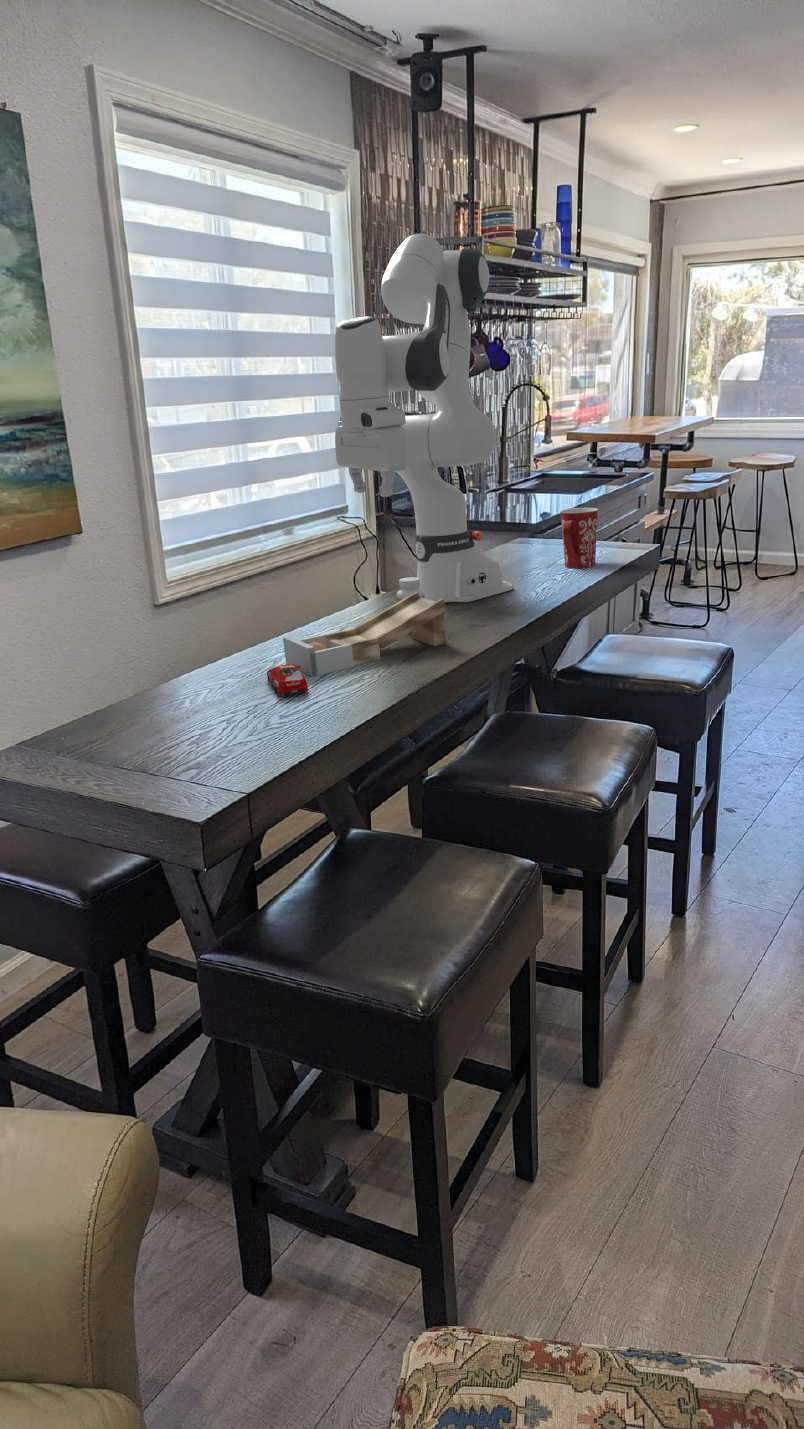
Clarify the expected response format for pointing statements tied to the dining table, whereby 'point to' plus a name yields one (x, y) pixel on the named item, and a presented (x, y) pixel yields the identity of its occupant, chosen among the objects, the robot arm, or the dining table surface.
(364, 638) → the ramp
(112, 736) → the dining table surface
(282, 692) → the race car
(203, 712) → the dining table surface
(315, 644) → the ball
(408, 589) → the supplement bottle
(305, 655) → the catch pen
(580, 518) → the mug
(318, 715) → the dining table surface
